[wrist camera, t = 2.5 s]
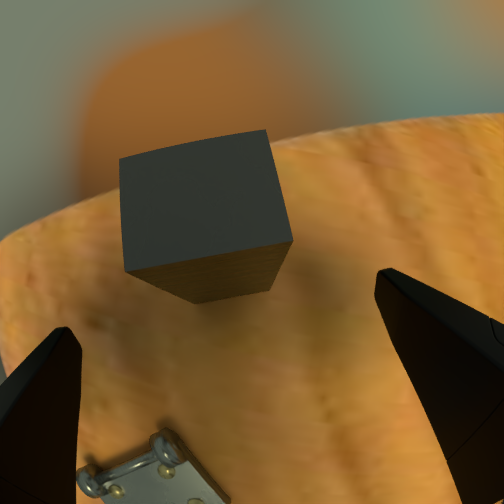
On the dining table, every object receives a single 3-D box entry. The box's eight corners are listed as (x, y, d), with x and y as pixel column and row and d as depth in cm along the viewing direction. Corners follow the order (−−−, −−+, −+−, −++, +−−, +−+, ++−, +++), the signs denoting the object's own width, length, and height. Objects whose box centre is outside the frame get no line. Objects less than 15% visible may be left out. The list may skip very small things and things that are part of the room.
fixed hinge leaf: (231, 499, 16) (228, 518, 13) (143, 532, 15) (134, 548, 12) (168, 423, 17) (158, 434, 15) (85, 463, 16) (70, 474, 14)
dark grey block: (269, 290, 19) (293, 240, 8) (194, 304, 19) (124, 271, 8) (257, 234, 20) (265, 129, 9) (186, 248, 19) (119, 159, 9)
